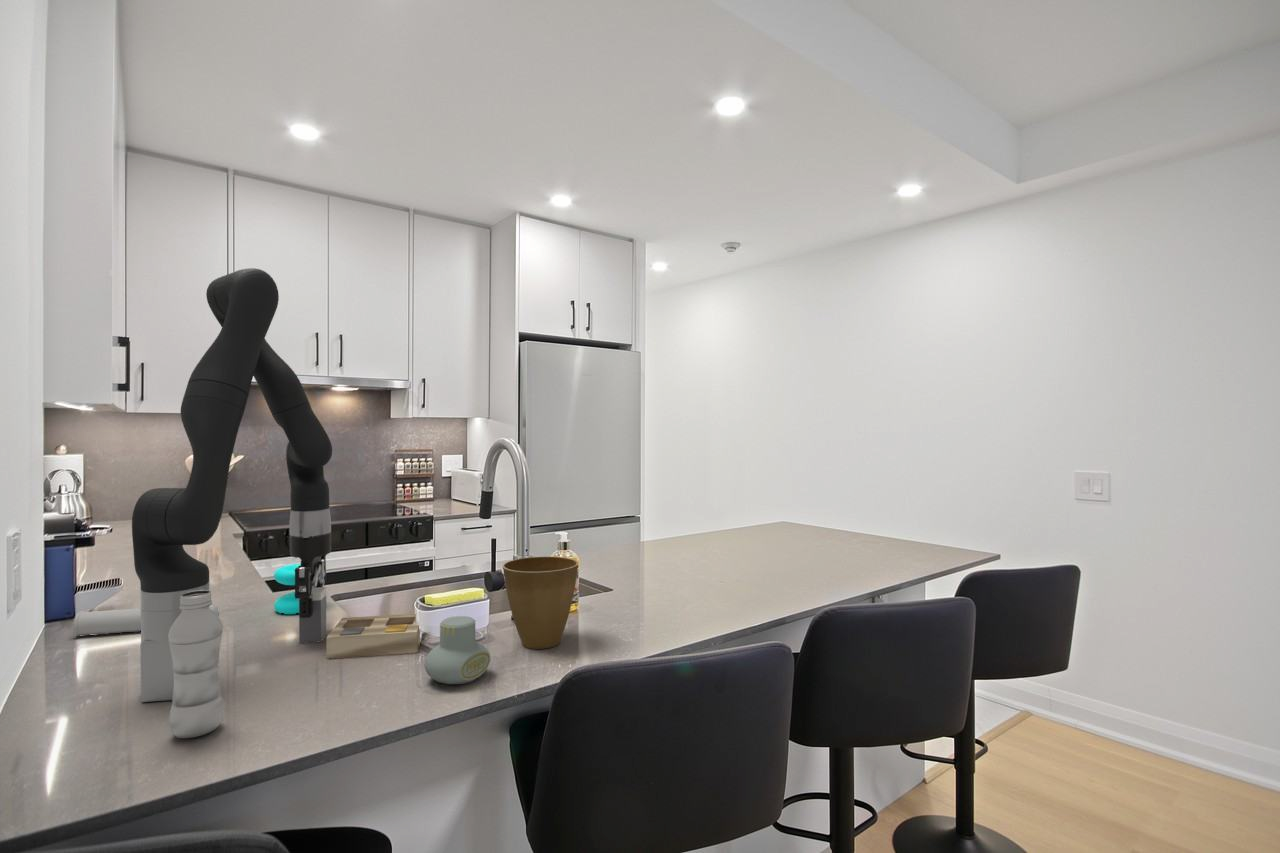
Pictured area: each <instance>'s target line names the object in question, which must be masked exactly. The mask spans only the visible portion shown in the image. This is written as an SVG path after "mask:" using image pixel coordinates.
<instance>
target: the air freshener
mask: <svg viewBox="0 0 1280 853" xmlns="http://www.w3.org/2000/svg"><path fill="white" fill-rule="evenodd" d="M439 626H440V627H439V630H440V631H439V644H438V645H436V646H434V647H433V648H432V649H431V650H430V651H429V652H428V654H427V655H426V657H425V659H424V669H425V672H426V674H427V675H428V677H430V678H431V679H433V680H434V681H435V682H438V683H441V684H445V685H464V684H470V683H472V682H473V681H474V680H476V679H477V678H479V677H480V676H482V674H484V673H485V672H486V670H487V669H488V668H489V666H490V662H491V653H490V652H489V649H488V648H487V647H486V646H485V645H484V644H482V643H480V642H479V641H476V620H475V619H474V618H473V617H471V616H467V615H463V616H462V615H459V616H458V615H457V616H450V617H447V618H444V619H443V620H442V621H441V622H440V623H439Z"/></svg>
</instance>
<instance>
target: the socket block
mask: <svg viewBox="0 0 1280 853" xmlns="http://www.w3.org/2000/svg"><path fill="white" fill-rule="evenodd" d="M416 614H417V613H407V614H404V613H403V614H391V615H385V614H384V615H374V616H373V615H372V616H371V615H370V616H369V615H368V616H351V617H342V618H341V619H340V620H339V622H337V624H336V625H335V626H334V628H333V629H332V630H331V631H330V633H329V634H328V635H326V660H330V659H329V658H331V659H342V658H357V657H372V656H374V657H375V656H386V655H387V656H388V655H402V654H403V655H404V654H416V653H418V650H419V648H420V645H421V643H420V630H419V625H417V622H416Z"/></svg>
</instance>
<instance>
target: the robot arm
mask: <svg viewBox="0 0 1280 853" xmlns="http://www.w3.org/2000/svg"><path fill="white" fill-rule="evenodd" d="M205 293H206V294H205V295H206V301H207V304H208V306H209V308H210V310H211V312H212V314H213V315H214V317H215V319H216V320H217V322H218V324H219V325H220V326H221V330H220V331H219V333H218V334H217V336H216V338H215V339H214V340H213V343H211V345H210V346H209V347H208V349H207V350H206V351H205V353H204V354H203V356H202V357H201V358H200V360H199V361H198V362H197V364H196V366H195V367H194V368H193V371H192V372H191V375H190V376H189V379H188V382H187V385H186V388H185V391H184V394H183V397H182V400H181V405H180V418H181V422H182V425H183V428H184V431H185V433H186V436H187V439H188V441H189V444H190V447H191V452H192V459H193V460H192V464H191V465H192V466H191V471H190V475H189V479H188V483H187V485H186V487H185V488H184V487H156V488H151V489H149V490H147V491H145V492H144V493H142V494H141V495H140V496H139V498H138V499H137V501H136V502H135V505H134V507H133V511H132V516H131V537H132V548H133V562H134V563H133V564H134V571H135V574H136V575H137V578H138V579H139V583H140V608H141V632H140V702H141V703H147V702H160V701H162V702H163V701H173V688H174V671H173V660H172V655H171V650H170V645H169V638H168V634H169V631H170V628H171V626H172V625H173V623H174V622H175V620H176V619H177V618H178V616H179V615H180V614H181V613H182V609H180V608H179V607H180V597H181V594H183V593H186V592H190V591H197V590H210V569H209V567H208V565H207V564H206V563H205V562H202V561H199V560H197V559H196V558H194V557H193V556H191V555H189V554H188V553H187V551H186V550H185V549H184V546H197V545H202V544H205V543H207V542H208V541H209V540H210V539H212V538H213V536H214V535H215V533H216V531H217V530H218V528H219V526H220V522H221V520H222V515H223V511H224V506H225V500H226V493H227V487H228V486H227V485H228V481H229V480H228V479H229V472H230V466H231V461H232V457H233V453H234V449H235V446H236V445H235V444H236V440H237V437H238V433H239V430H240V426H241V423H242V420H243V416H244V413H245V409H246V405H247V403H248V398H249V395H250V390H251V385H252V381H253V378H254V380H255V381H256V383H257V385H258V387H259V389H260V391H261V394H262V395H263V398H264V400H265V403H266V404H267V407H268V409H269V411H270V413H271V415H272V418H273V419H274V421H275V422H276V424H277V425H278V426H280V427H281V429H282V430H283V433H284V434H285V436H286V438H287V441H288V443H287V446H286V451H285V452H286V454H285V456H286V457H285V460H286V466H287V473H288V478H289V483H290V496H289V498H290V515H289V525H288V526H289V556H290V557H293V558H296V559H297V558H298V559H300V563H299V564H300V566H298V568H295V585H294V592H295V599H299V613H300V617H301V618H309V617H311V616H312V615H313V604H312V597H313V590H314V588H318V587H324V585H325V583H326V582H325V581H326V580H327V563H326V562H327V560H326V559H327V558H326V557H327V556H328V555H329V554H330V553H331V552H332V517H331V510H330V487H329V484H328V482H327V481H326V478H325V474H324V472H325V471H324V466H326V465H328V463H329V462H330V460H331V458H332V456H333V445H332V443H331V442H332V441H331V440H330V437H329V435H328V433H327V431H326V429H325V428H324V427H323V424H322V423H321V421H320V420H319V418H318V417H317V416H316V414H315V413H314V411H313V408H312V405H311V402H310V401H309V398H308V396H307V394H306V392H305V389H304V387H303V385H302V383H301V381H300V379H299V378H298V375H297V374H296V373H295V372H294V370H293V369H292V367H291V366H290V365H289V364H288V363H287V362H286V361H285V360H284V359H282V357H280V356H279V354H278V353H277V352H276V351H275V350H274V349H273V347H271V345H270V343H268V341H267V339H266V336H267V334H268V331H269V329H270V326H271V325H272V321H273V319H274V316H275V315H276V312H277V308H278V306H279V300H280V299H279V298H280V296H279V290H278V286H277V283H276V282H275V280H274V279H273V277H272V276H271V275H270V274H269V273H268V272H267V271H264V270H262V269H260V268H254V267H251V268H243V269H239V270H236V271H234V272H230V273H228V274H225V275H222V276H220V277H217V278H215V279H214V280H212V281H211V283H209V285H208V286H207V288H206V292H205ZM305 588H306V592H303V589H305Z"/></svg>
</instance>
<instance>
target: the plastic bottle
mask: <svg viewBox="0 0 1280 853" xmlns="http://www.w3.org/2000/svg"><path fill="white" fill-rule="evenodd" d="M211 604H213V600H212V591H211V590H210V589H209V590H197V591H190V592H186V593H183V594H181V597H180V607H179V608H180V609H182V613H181V614H180V615H179V616H178V618H177V619H176V620H175V622H174V623H173V625H172V626H171V628H170V631H169V634H168V638H169V645H170V650H171V655H172V660H173V671H174V688H173V700H171V702H172V703H171V706H170V711H169V717H168V724H169V727H170V732H171V733H172V734H173V735H174V737H176V738H178V739H191V738H197V737H201V736H204V735H207V734H209V733H211V732H213V731H215V730H216V729H217V728H219V726H220V724H222V721H223V719H224V712H225V705H224V699H223V697H222V693H221V692H222V691H221V685H220V684H221V683H220V676H219V667H220V666H219V664H220V663H219V662H220V651H221V650H220V649H221V643H222V636H223V627H224V626H223V623H222V621H221V619H220V618H219V617H217V615H216V614H215V613H214V612H213V611H212V610H211V609H210V605H211Z"/></svg>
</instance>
